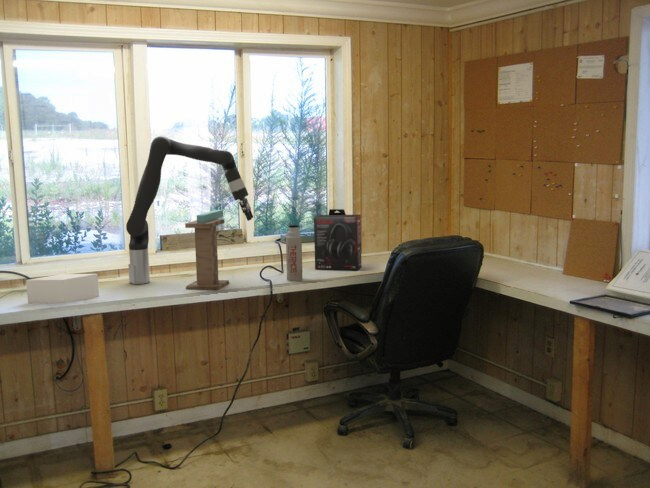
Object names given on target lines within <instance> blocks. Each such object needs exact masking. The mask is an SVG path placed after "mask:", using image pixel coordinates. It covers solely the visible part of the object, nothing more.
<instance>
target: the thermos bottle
mask: <svg viewBox="0 0 650 488" xmlns="http://www.w3.org/2000/svg"><path fill="white" fill-rule="evenodd" d="M302 241H303V238H302V235H301V231H300V230H299V225H298V224H290V225H288V231H287V232H286V236H285V254H286V256H285V257H286V258H285V259H286V260H285V262H286V281H288V282H301V281H303V244H302V243H303V242H302Z"/></svg>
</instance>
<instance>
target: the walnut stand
mask: <svg viewBox="0 0 650 488" xmlns="http://www.w3.org/2000/svg"><path fill="white" fill-rule="evenodd" d="M225 223H226V221H225V218H218V219H214V220H211V221H208V222H205V223H197V219H196V220H193V221H189V222H186V223H185V224H184V225H185V229H194V242H195V243H194V244H195V268H196V269H195V271H196V280H195V281H194V282H191V283H188V284H187V285H186V286H185V289H186V290H200V291H201V290H205V291H219V290H220V289H222V288H224V287H225V286H227V285H228V284H230V280H229V279H228V280H227V279H226V280H225V279H219V263H218V262H219V261H218V260H219V257H218V232H217V226H219V225H223V224H225Z"/></svg>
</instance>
